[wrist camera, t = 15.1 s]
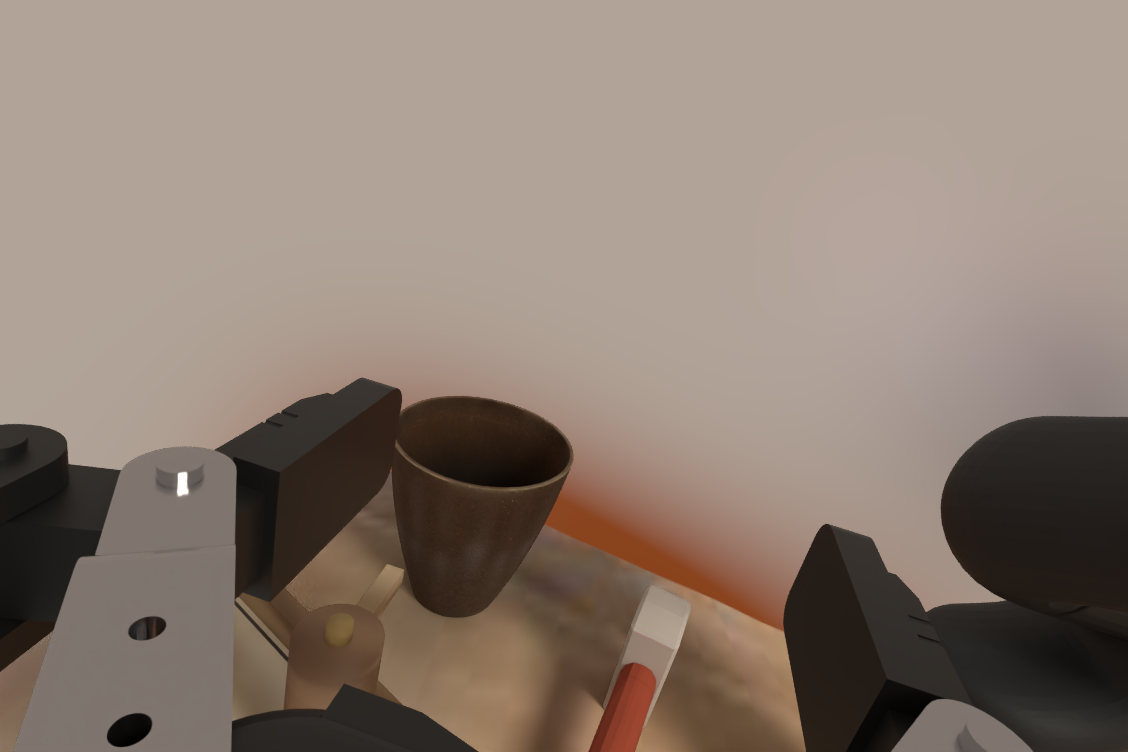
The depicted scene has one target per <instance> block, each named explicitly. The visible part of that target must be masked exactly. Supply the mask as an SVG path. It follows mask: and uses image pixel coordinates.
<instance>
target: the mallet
mask: <svg viewBox="0 0 1128 752" xmlns="http://www.w3.org/2000/svg"><path fill="white" fill-rule="evenodd" d="M690 610H691V605H690V602H689V601H687V600H684V599H682V598H680V597H678V596H676V595H673V594H671V593H669V592H667V591H665V590H662V589H660V588H658V587H656V586H654V585H650V586H648V587H646V590H645V592H644V594H643V597H642V599H641V602H640V604H639V607H638V609H637V611H636V614H635V616H634V619H633V621H632V624H631V626H630V629H629V632H628V635H627V638H626V640H625V643H624V646H623V649H622V652H621V655H620V658H619V660H618V663H617V666H616V669H615V672H614V675H613V678H612V680H611V683H610V686H609V689H608V692H607V695H606V698H605V701H604V703H603V708H604V710H605V711H604V714H603V716H602V719H601V721H600V724H599V726H598V729H597V731H596V734H595V737H594V739H593V742H592V744H591V747H590V749H589V752H635V750H636V747H637V744H638V741H639V738H640V735H641V732H642V729H643V728H645V727H646V724H647V722H648V720H649V717H650V715H651V713H652V710H653V708H654V706H655V703H656V701H657V698H658V696H659V694H660V691H661V689H662V687H663V684H664V682H665V679H666V677H667V675H668V672H669V670H670V668H671V665H672V663H673V660H674V658H675V655H676V653H677V651H678V648H679V645H680V642H681V639H682V636H683V633H684V630H685V626H686V623H687V620H688V617H689V613H690Z"/></svg>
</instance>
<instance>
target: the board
mask: <svg viewBox="0 0 1128 752" xmlns="http://www.w3.org/2000/svg"><path fill="white" fill-rule="evenodd" d="M307 614H309V612H308V611H307V610H306V609H305V608H304V607H303V606H302V605H301V604H300V603H299V602H298V601H297V600H296V599H295V598H294V597H293V596H292V595H291V594H290V593H289V592H288V591H287V590H286V589H285V588H284V589H283V590H282V591H281V592H280V593H279V594H278V595H277V596H276V597H275V598H274V599H273V600H272V601H271V602H267V601H265V600H262V599H259V598H256V597H254V596H251V595H248V594H245V593H242V594H241V595H240V596H239V597H238V598H236V599H235V601H234V646H233V690H232V721H234V720H237V719H240V718H243V717H247V716H251V715H255V714H260V713H265V712H270V711H277V710H283V708H284V698H285V687H286V677H287V666H288V655H289V645H290V637H291V634H292V631H293V629H294V627H295V626H296V624H297V623H298V622H299V621H300V620H301V619H302V618H303V617H304V616H306V615H307ZM375 695H377V696H379V697H382V698H385V699H387V700H390V701H393V702H395V703H398V704H401V703H400V702H399V701H398V700H397V699H396V698H395V697H394V696H393V695H392V694H391V693H390V692H389V691H388V690H387V689H386V688H385V687H384V686H383V685H382V684H381V683H380V682H379V681H378V680H377V686H376V692H375ZM401 705H402V704H401Z"/></svg>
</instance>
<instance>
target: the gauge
mask: <svg viewBox="0 0 1128 752" xmlns="http://www.w3.org/2000/svg"><path fill="white" fill-rule="evenodd" d="M403 575H404V569H401V568H398V567H395V566H392V565H389V564H387V565H386V566H385V568H384V569H383V570H382V572H381V573H380V574H379V576H378V577H377V578H376V580H375V581H374V582H373V584H372V585H371V586H370V588H369V589H368V590H367V592H366V593H365V594H364V596H363V597H362V598H361V600H360V601H359V602H358V604H357V605H356V606H355V605H349V604H335V605H328V606H324V607H321V608H318V609H316V610H314V611H312V612H310V613H309V614H307V615H306V616H304V617H303V618H302V619H301V620H300V621H299V622H298V623H297V624H296V626H295V627H294V629H293V631H292V634H291V637H290V645H289V655H288V666H287V677H286V687H285V698H284V708H283V710H286V709H325V710H326V709H327V708H328V706H329V705H330V703H331V702H332V700H333V699H334V697H335V696H336V694H337V693H338V692H339V690H340V689H341V687H342V686H343V684H344V683H345V684H347V685H350V686H353V687H355V688H358V689H361V690H363V691H366V692H369V693H371V694H374V695H375V692H376V686H377V680H378V674H379V668H380V662H381V656H382V650H383V644H384V638H385V633H384V628H383V626H382V624H381V622H380V620H379V619H378V618H379V617H380V616H381V614H382V613H383V611H384V610H385V608H386V607H387V605H388V604H389V602H390V601H391V599H392V598H393V596H394V595H395V593H396V592H397V591H398V589H399V588H400V586H401V585H402V580H403Z"/></svg>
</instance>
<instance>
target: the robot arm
mask: <svg viewBox="0 0 1128 752" xmlns="http://www.w3.org/2000/svg"><path fill="white" fill-rule="evenodd" d="M401 404H402V394H401V391H400V390H399V389H398V388H394V387H391V386H388V385H385V384H382V383H378V382H375V381H372V380H369V379H366V378H360V379H357V380H356V381H354V382H353V383H351V384H349V385H348V386H346V387H345V388H343V389H341V390H340V391H338V392H337V393H335V394H333V395H332V394H329V393H325V394H321V395H317V396H313V397H309V398H305V399H301V400H299V401H297V402H296V403H294V404H292V405H291V406H289V407H287V408H286V409H284V410H282V412H281V414H280V413H277V414H275V415H274V416H272V417H270V418H268V419H267V420H266V422H265V423H263V422H261V423H260V424H258V425H256V426H255V427H253V428H251V429H250V430H248V431H246V432H244V433H243V434H241V435H239V436H238V437H236V438H234V439H233V440H231V441H229V442H227V443H226V444H224V445H222V446H220V447H219V448H217V449H215V450H210V449H206V448H199V447H172V448H165V449H160V450H155V451H152V452H149V453H146V454H143V455H141V456H139V457H137V458H135V459H133V460H131V461H130V462H129V463H128V464H126V465H125V466H124V467H123V469H122V470H114V469H105V468H96V467H88V466H79V465H71V464H68V451H67V441H66V439H65V437H64V436H63V435H62V434H60V433H59V432H57V431H55V430H52V429H49V428H45V427H41V426H35V425H25V424H24V425H23V424H8V425H7V424H6V425H0V671H2V670H3V669H4V668H6V667H7V666H8V665H9V664H11V663H12V662H13V661H15V660H16V659H17V658H18V657H20V656H21V655H22V654H24V653H25V652H26V651H27V650H29V649H30V648H31V647H32V646H34V645H35V644H36V643H38V642H39V641H40V640H41V639H43V638H44V637H45V636H47V635H48V634H49V633H50V632H52V631H53V633H52V636H51V639H50V642H49V645H48V648H47V651H46V654H45V657H44V660H43V663H42V666H41V669H40V672H39V675H38V678H37V681H36V684H35V687H34V690H33V693H32V696H31V699H30V702H29V705H28V708H27V711H26V714H25V717H24V720H23V723H22V726H21V729H20V732H19V735H18V738H17V741H16V744H15V747H14V750H13V752H478V751H477V750H475V749H474V748H472V747H471V746H469V745H468V744H467V743H465V742H464V741H462V740H461V739H459V738H458V737H457V736H455V735H454V734H452V733H451V732H449V731H448V730H446V729H445V728H444V727H442V726H441V725H439V724H438V723H436V722H435V721H434V720H432V719H431V718H429V717H428V716H426V715H425V714H423V713H422V712H419V711H417V710H414V709H411V708H409V707H406V706H403V705H401V704H398V703H395V702H393V701H390V700H387V699H385V698H382V697H379V696H377V695H374V694H371V693H369V692H366V691H363V690H361V689H358V688H355V687H353V686H350V685H347V684H345V683H344V684H343V686H342V687H341V689H340V690H339V692H338V693H337V694H336V696H335V697H334V699H333V700H332V702H331V703H330V705H329V706H328V708H327V709H326V710H325V709H286V710H277V711H270V712H265V713H260V714H255V715H251V716H247V717H243V718H240V719H237V720H234V721H232V690H233V646H234V601H235V599H236V598H238V597H239V596H240V595H241V594H242V593H245V594H248V595H251V596H254V597H256V598H259V599H262V600H265V601H267V602H271V601H272V600H273V599H274V598H275V597H276V596H277V595H278V594H279V593H280V592H281V591H282V590H283V589H284V588H285V587H286V586H287V585H288V584H289V583H290V582H291V581H292V580H293V579H294V577H295V576H296V575H297V574H298V573H299V572H300V571H301V570H302V569H303V568H304V567H305V566H306V565H307V564H308V563H309V562H310V561H311V560H312V559H313V558H314V557H315V556H316V555H317V554H318V553H319V552H320V551H321V550H322V549H323V548H324V547H325V546H326V545H327V544H328V543H329V542H330V541H331V540H332V539H333V538H334V537H335V536H336V535H337V534H338V533H339V532H340V531H341V530H342V529H343V528H344V527H345V526H346V525H347V524H348V523H349V522H350V521H351V520H352V519H353V518H354V517H355V516H356V515H357V514H358V513H359V512H360V511H361V509H362V508H363V507H364V506H365V505H366V504H367V503H368V502H369V501H370V500H371V499H372V498H373V497H374V496H375V495H376V494H377V493H378V492H379V491H380V490H381V488H382V487H383V485H384V484H385V482H386V480H387V477H388V475H389V473H390V469H391V466H392V462H393V457H394V450H395V444H396V437H397V430H398V424H399V417H400V410H401ZM941 519H942V526H943V530H944V533H945V537H946V540H947V542H948V544H949V547H950V549H951V551H952V553H953V555H954V556H955V558H956V559H957V560H958V562H959V563H960V564H961V566H962V568H963V569H964V570H965V571H966V572H967V573H968V574H969V575H970V576H971V577H972V578H973V579H974V580H975V581H976V582H977V583H979V584H981V585H982V586H983V587H985V588H986V589H987V590H989V591H990V592H992V593H993V594H995V595H997V596H999V597H1001V598H1003V599H1005V600H1006V601H1000V602H989V603H968V604H967V603H965V604H948V605H942V606H938V607H935V608H933V609H931V610H929V611H928V612H925V610H924V608H923V606H922V604H921V602H920V600H919V598H917V597H916V595H915V594H914V593H913V592H912V591H911V590H910V589H909V588H908V587H907V586H906V585H905V584H904V583H903V582H902V580H901V579H900V578H899V577H898V576H897V575H895V574H892V573H889V572H888V571H887V569H886V567H885V565H884V563H883V561H882V559H881V556H880V554H879V552H878V550H877V548H876V546H875V544H874V542H873V540H872V539H871V538H870V537H867V536H864V535H861V534H857V533H855V532H852V531H849V530H845V529H842V528H839V527H836V526H833V525H829V524H825V525H823V526H822V527H821V528H820V529H819V531H818V532H817V534H816V536H815V538H814V540H813V542H812V545H811V547H810V549H809V551H808V553H807V555H806V558H805V560H804V562H803V564H802V566H801V568H800V570H799V573H798V575H797V577H796V579H795V581H794V583H793V586H792V588H791V590H790V592H789V595H788V598H787V601H786V605H785V610H784V620H783V625H784V633H785V638H786V644H787V649H788V655H789V660H790V665H791V671H792V676H793V682H794V687H795V693H796V698H797V703H798V709H799V714H800V720H801V725H802V731H803V736H804V741H805V747H806V752H1128V417H1078V416H1076V417H1074V416H1041V417H1031V418H1026V419H1021V420H1017V421H1014V422H1011V423H1008V424H1006V425H1004V426H1001V427H999V428H997V429H995V430H993V431H991V432H990V433H988V434H986V435H985V436H983V437H982V438H981V439H979V440H978V441H977V442H976V443H975V444H973V445H972V446H971V447H970V448H969V449H968V450H967V451H966V452H965V453H964V454H963V455H962V456H961V457H960V459H959V460H958V461H957V463H956V464H955V466H954V467H953V469H952V471H951V472H950V474H949V476H948V479H947V481H946V483H945V486H944V490H943V493H942V499H941Z"/></svg>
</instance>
